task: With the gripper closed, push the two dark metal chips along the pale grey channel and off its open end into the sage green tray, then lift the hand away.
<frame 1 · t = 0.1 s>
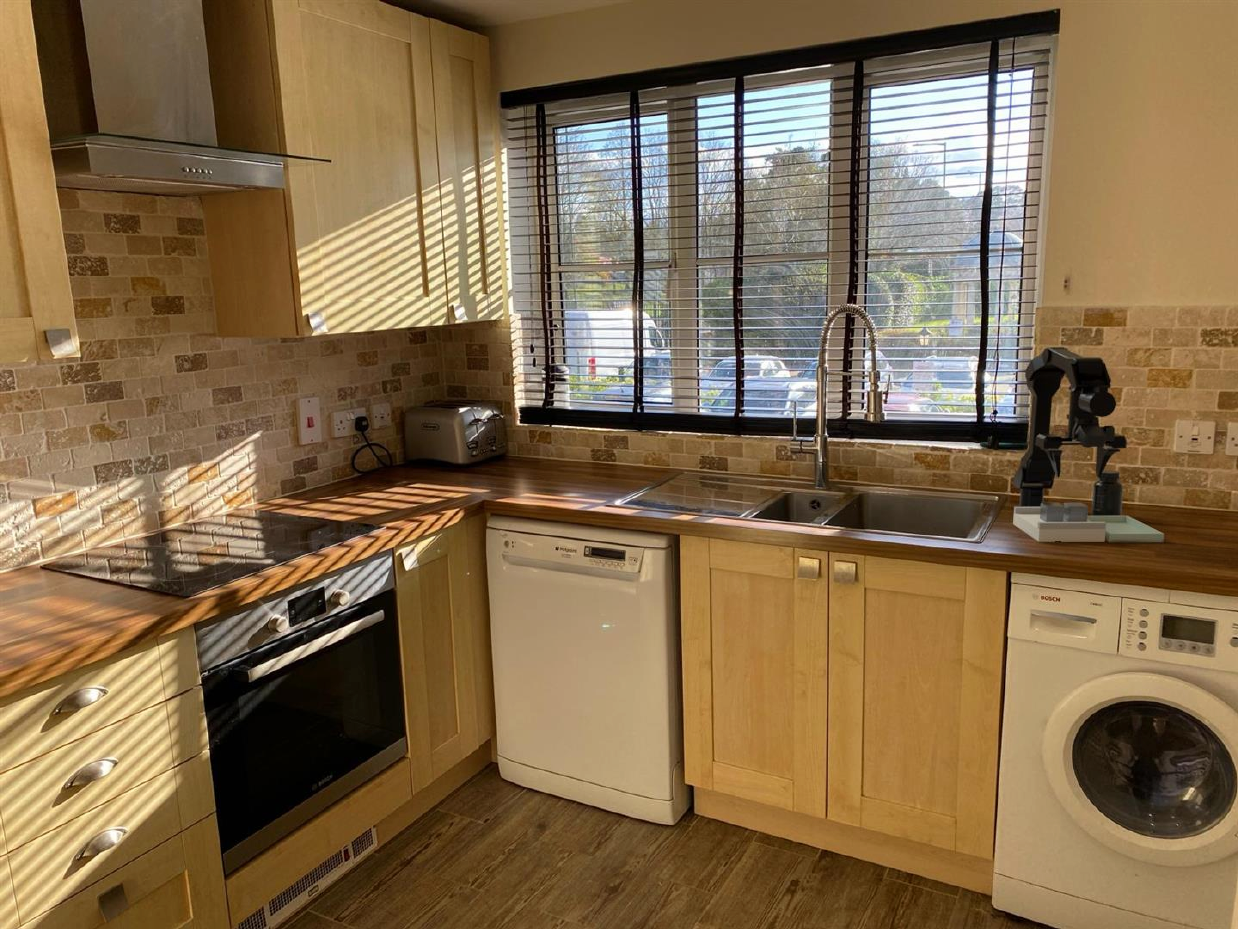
hand: (1078, 477, 215), 15 cm above the worktop, tool pointing down, fingers open, 9 cm apart
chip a: (1051, 520, 222), point 3 cm above the worktop, touching channel
channel: (1057, 532, 222), on the worktop
supplement bottle: (1105, 517, 237), on the worktop
chip b: (1074, 520, 222), point 3 cm above the worktop, touching channel
tray: (1118, 532, 221), on the worktop
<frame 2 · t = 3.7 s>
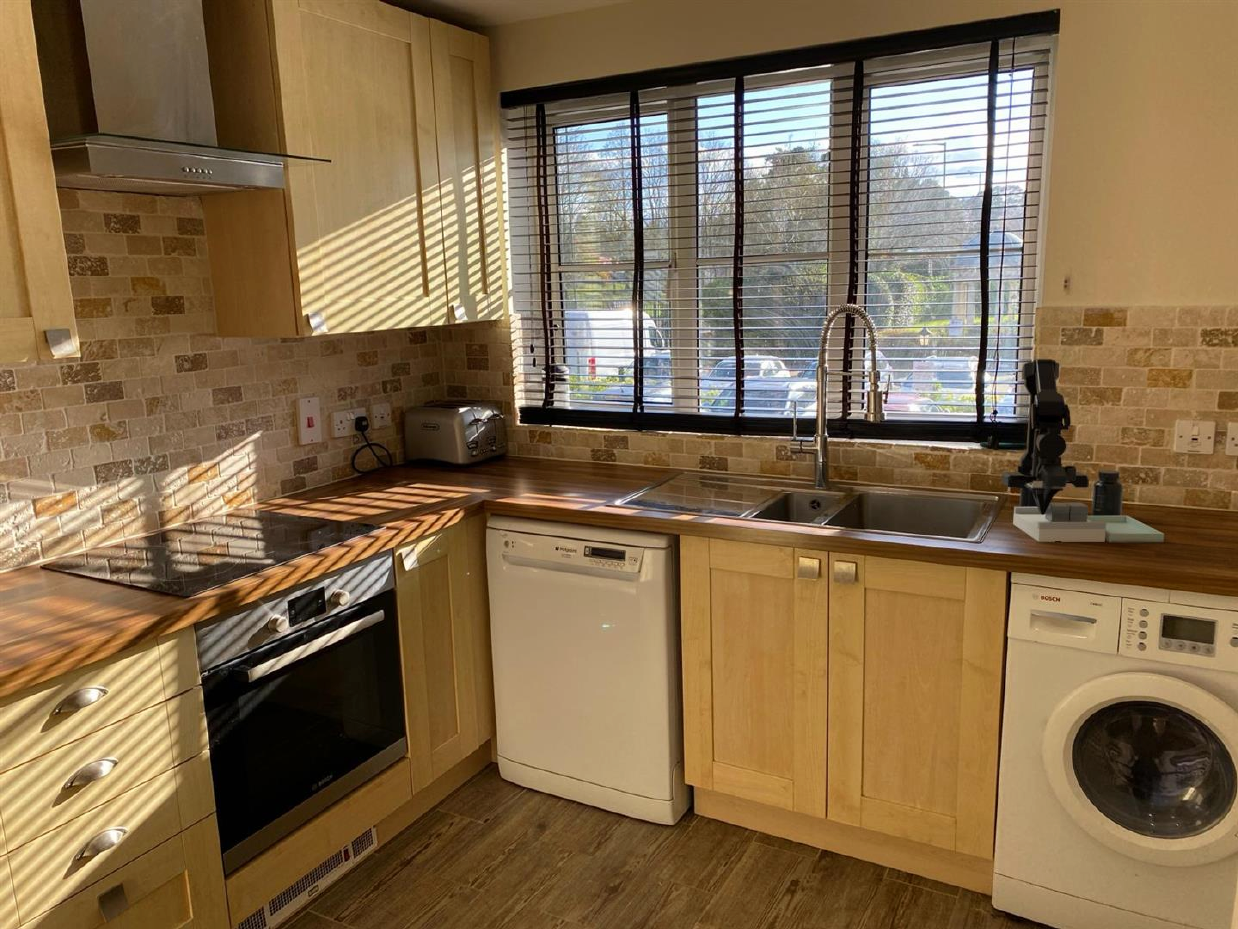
hand: (1042, 514, 222), 5 cm above the worktop, tool pointing down, fingers closed
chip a: (1056, 520, 222), point 3 cm above the worktop, touching channel, gripper
everything else where it was.
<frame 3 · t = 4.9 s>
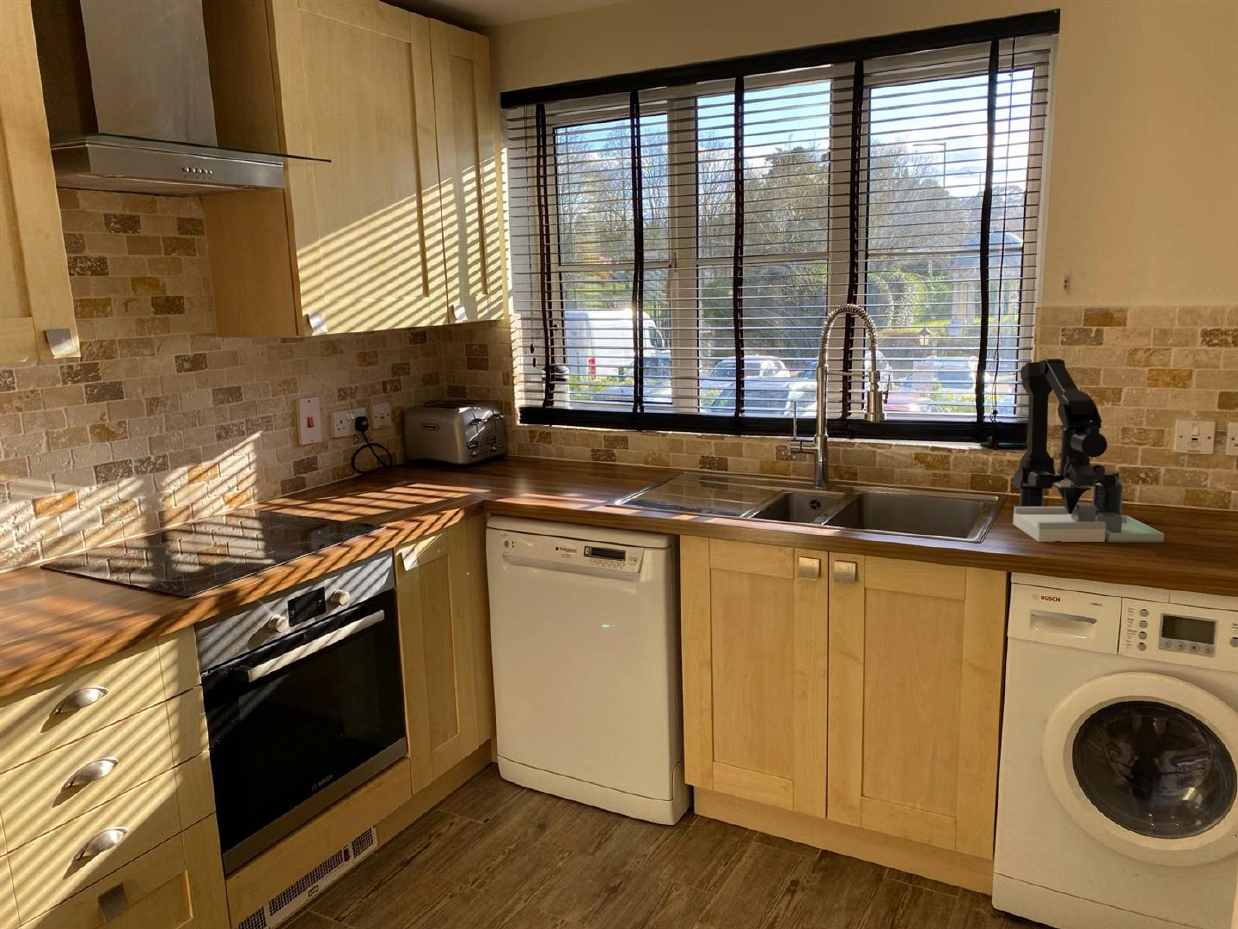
hand: (1069, 513, 221), 5 cm above the worktop, tool pointing down, fingers closed
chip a: (1082, 520, 221), point 3 cm above the worktop, touching channel, gripper
chip b: (1100, 522, 221), point 2 cm above the worktop, tilted 90°, touching tray
everything else where it was.
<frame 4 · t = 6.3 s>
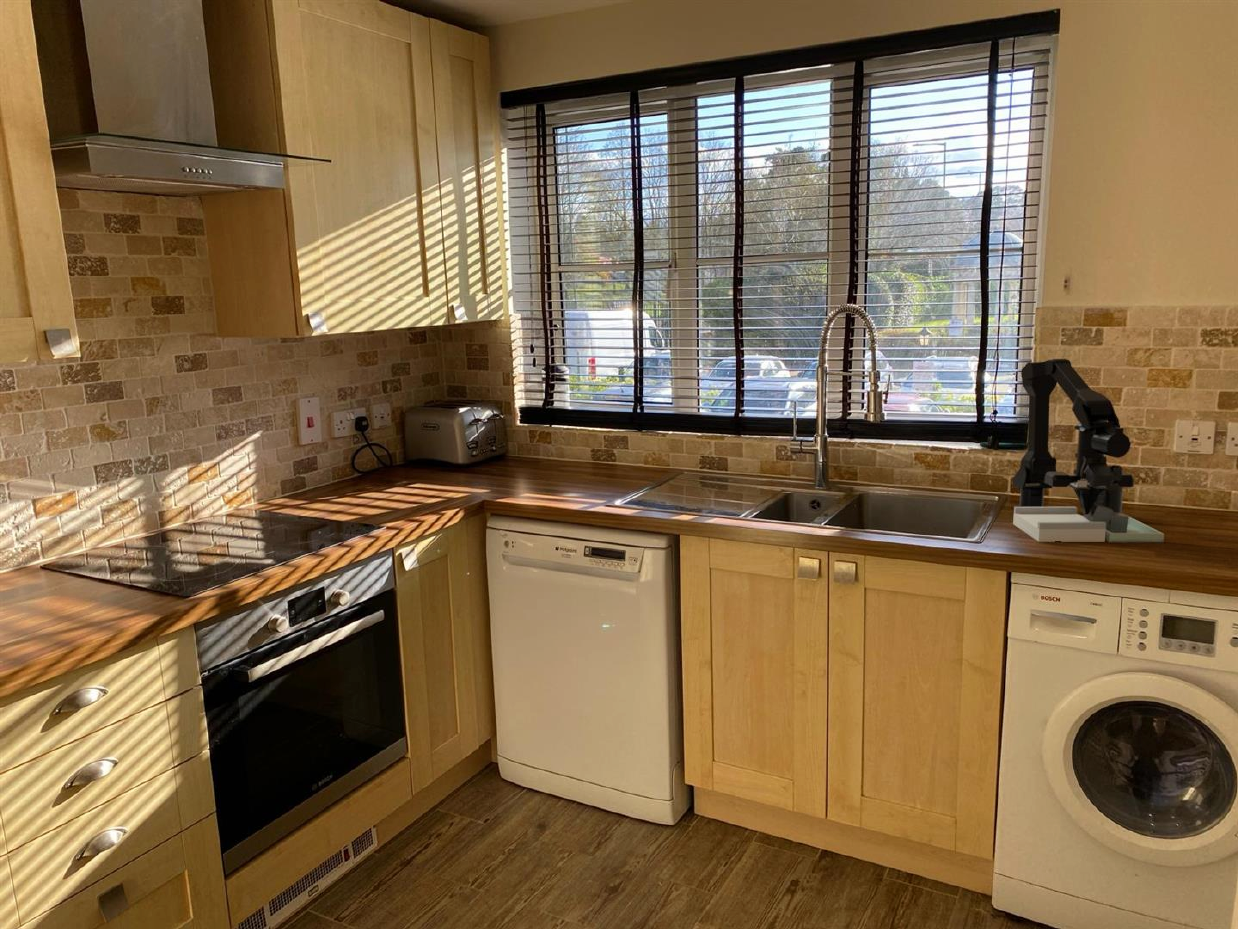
hand: (1086, 514, 221), 5 cm above the worktop, tool pointing down, fingers closed
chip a: (1095, 521, 221), point 3 cm above the worktop, tilted 17°, touching chip b, gripper
chip b: (1106, 521, 221), point 3 cm above the worktop, tilted 93°, touching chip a, tray
everything else where it was.
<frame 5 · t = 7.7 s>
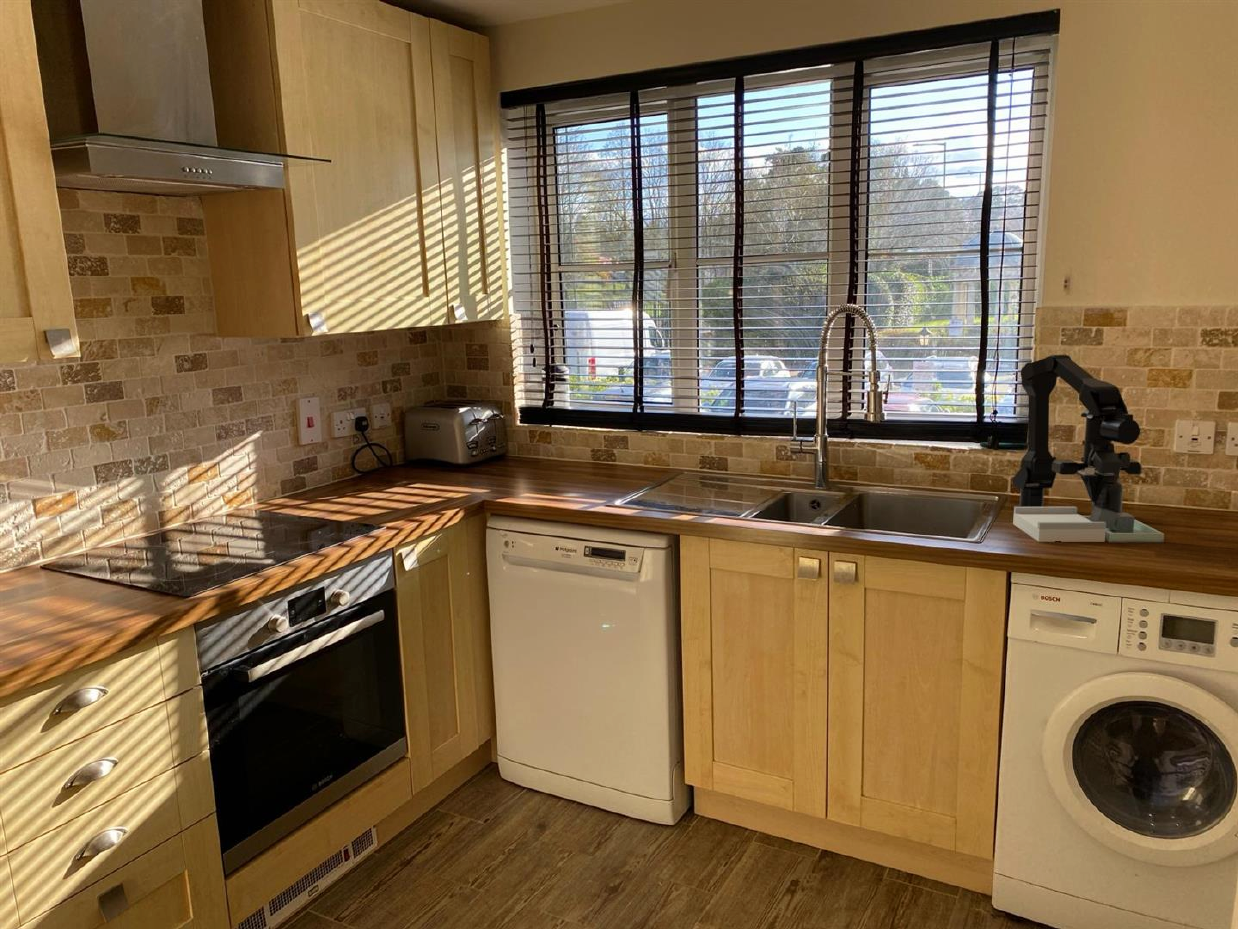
hand: (1093, 501, 220), 8 cm above the worktop, tool pointing down, fingers closed
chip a: (1100, 525, 221), point 2 cm above the worktop, tilted 16°, touching chip b, tray
chip b: (1112, 522, 221), point 3 cm above the worktop, tilted 90°, touching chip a, tray
everything else where it was.
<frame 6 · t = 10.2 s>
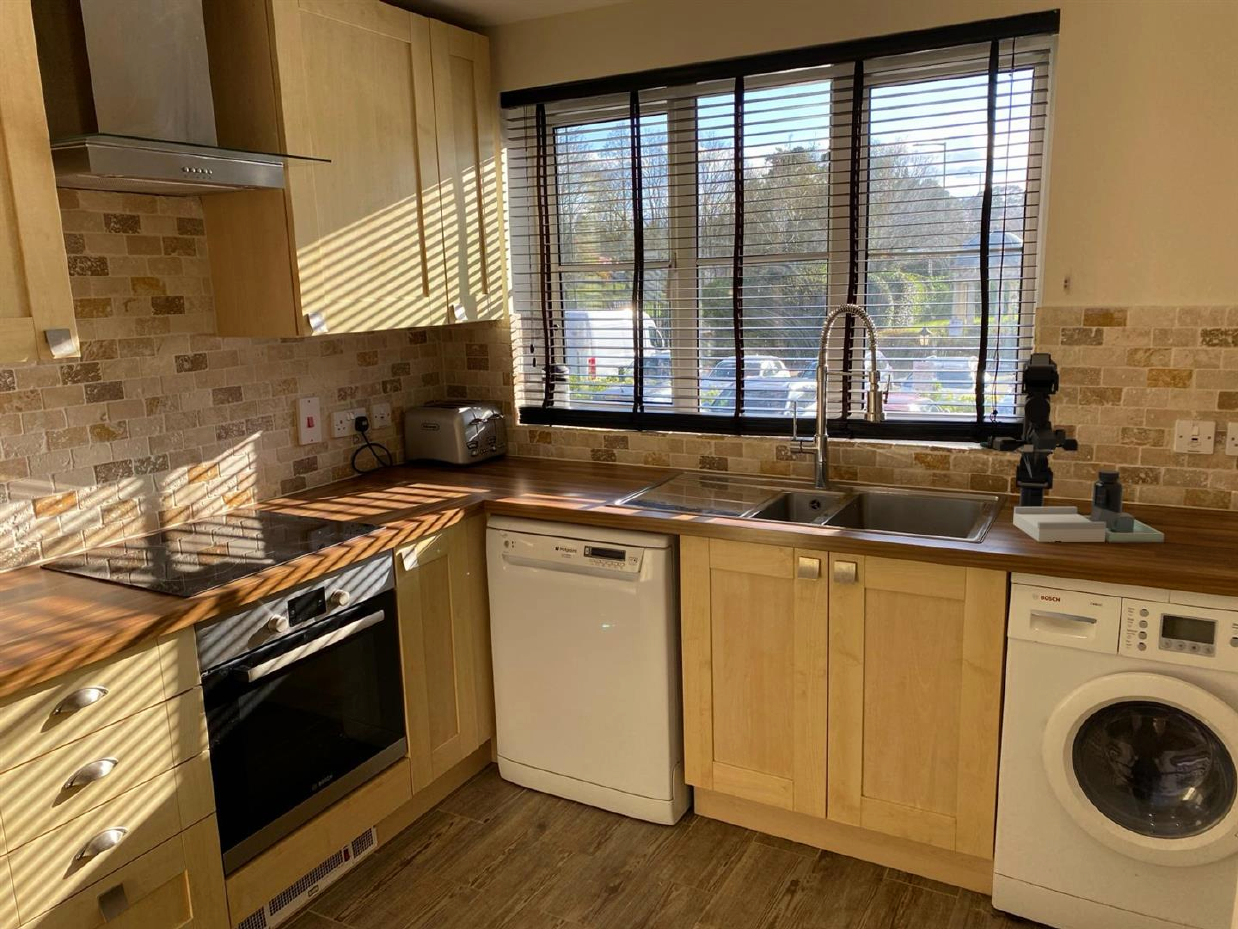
hand: (1033, 477, 228), 12 cm above the worktop, tool pointing down, fingers closed
nothing on the worktop moved.
at the end: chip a inside the target area on the tray (4.6 cm from its centre), point 1.8 cm above the tray's base; chip b inside the target area on the tray (1.7 cm from its centre), point 2.5 cm above the tray's base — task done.
